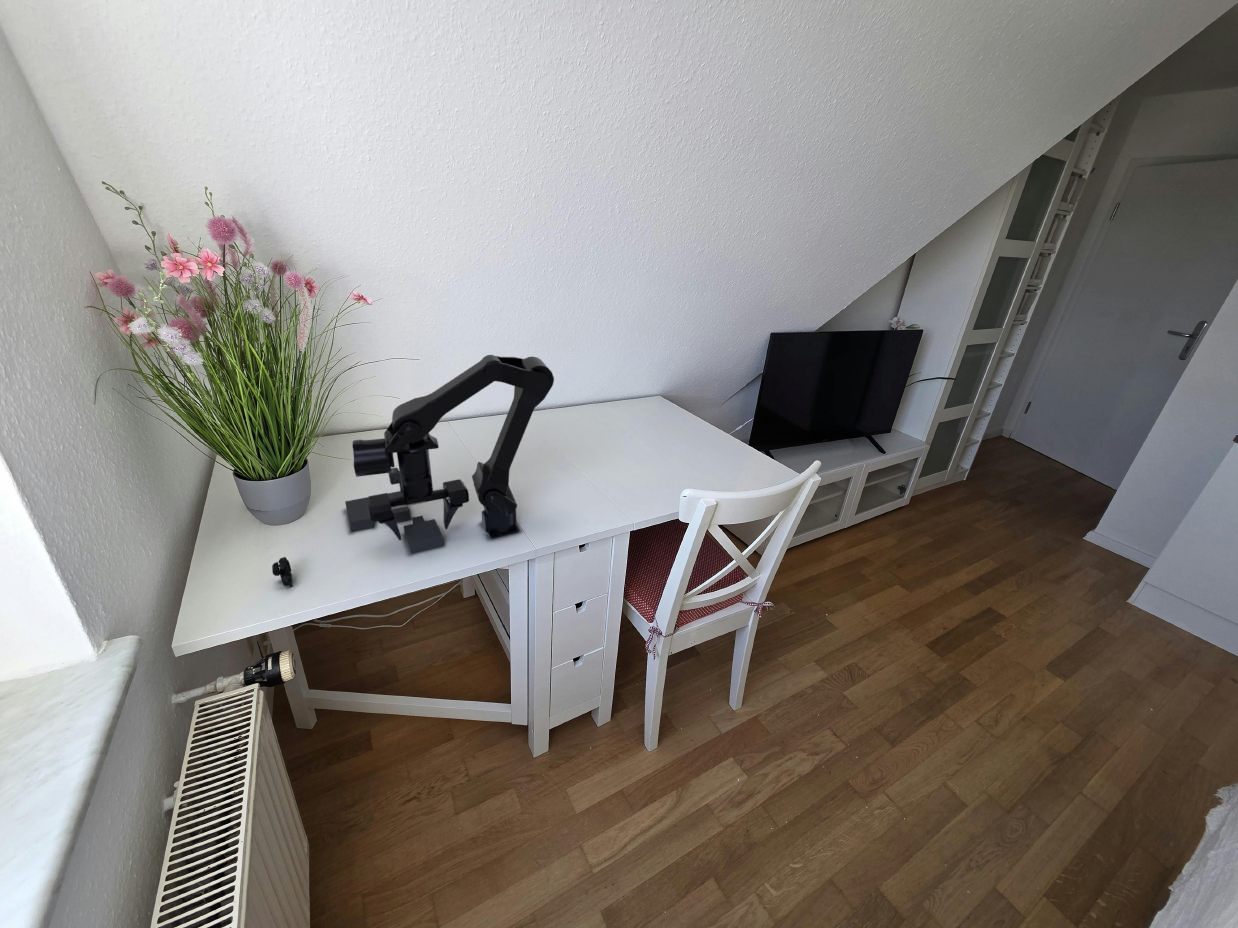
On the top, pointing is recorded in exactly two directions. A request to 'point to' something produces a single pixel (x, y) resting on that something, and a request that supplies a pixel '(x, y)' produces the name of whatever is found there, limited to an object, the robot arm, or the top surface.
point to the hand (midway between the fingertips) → (423, 533)
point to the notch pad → (360, 513)
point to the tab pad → (422, 535)
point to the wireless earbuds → (283, 571)
